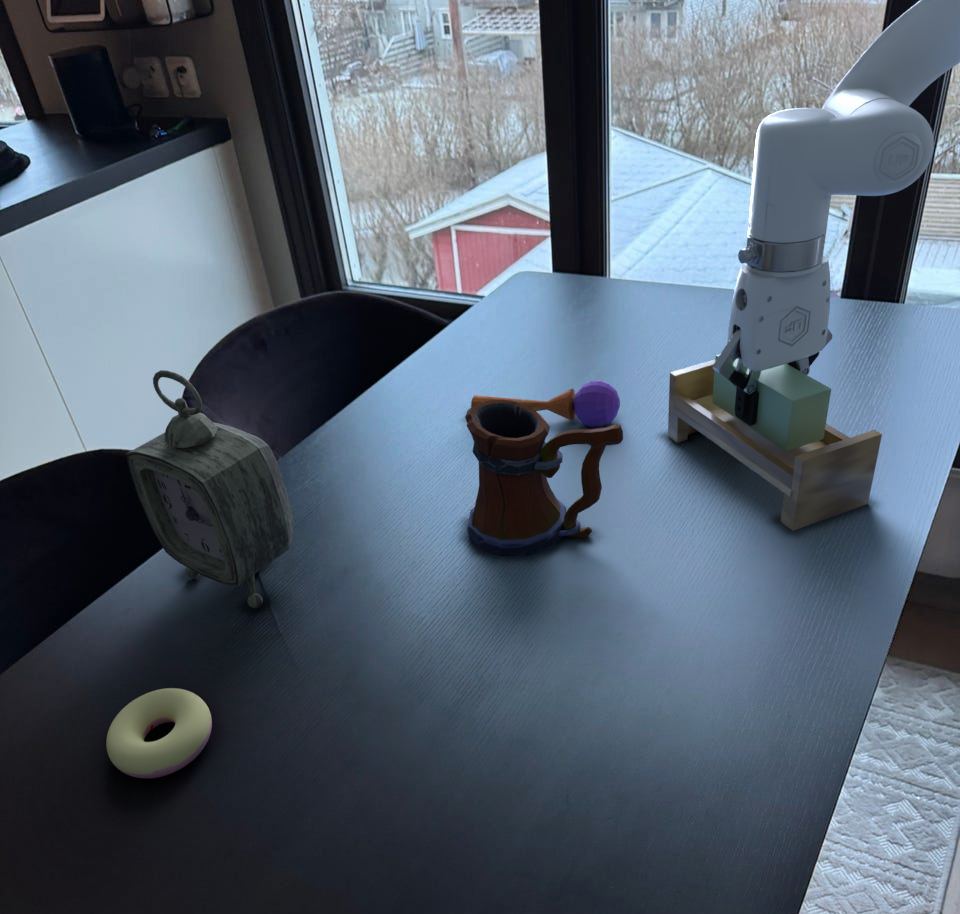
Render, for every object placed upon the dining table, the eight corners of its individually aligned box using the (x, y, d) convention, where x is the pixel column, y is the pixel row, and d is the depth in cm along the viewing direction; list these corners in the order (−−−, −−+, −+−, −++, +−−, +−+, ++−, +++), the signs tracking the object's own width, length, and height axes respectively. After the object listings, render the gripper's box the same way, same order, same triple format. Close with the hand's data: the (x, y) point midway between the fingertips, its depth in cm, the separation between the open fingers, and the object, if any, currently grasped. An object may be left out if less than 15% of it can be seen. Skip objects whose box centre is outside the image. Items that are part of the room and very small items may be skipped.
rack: (733, 417, 120) (739, 351, 114) (867, 506, 101) (882, 433, 96) (667, 438, 117) (669, 372, 111) (792, 533, 99) (802, 460, 93)
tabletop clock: (172, 581, 104) (89, 375, 88) (232, 541, 110) (163, 339, 93) (256, 622, 97) (183, 406, 81) (316, 577, 102) (258, 365, 86)
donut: (223, 719, 89) (125, 721, 89) (217, 679, 87) (117, 681, 86) (205, 785, 81) (96, 788, 80) (198, 744, 78) (86, 746, 78)
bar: (747, 391, 111) (751, 344, 107) (823, 439, 101) (831, 388, 97) (712, 402, 110) (715, 354, 106) (785, 451, 99) (792, 401, 96)
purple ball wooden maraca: (479, 380, 127) (622, 374, 120) (484, 422, 130) (624, 418, 123) (465, 392, 122) (613, 386, 115) (470, 435, 125) (615, 432, 118)
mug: (634, 516, 105) (635, 394, 95) (608, 575, 97) (607, 449, 87) (488, 498, 111) (475, 383, 101) (452, 553, 103) (435, 433, 93)
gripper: (735, 280, 88) (722, 448, 100) (878, 240, 92) (849, 406, 104) (691, 259, 93) (684, 421, 105) (829, 222, 97) (807, 382, 109)
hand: (766, 412), depth 104 cm, fingers closed on bar, 5 cm apart
